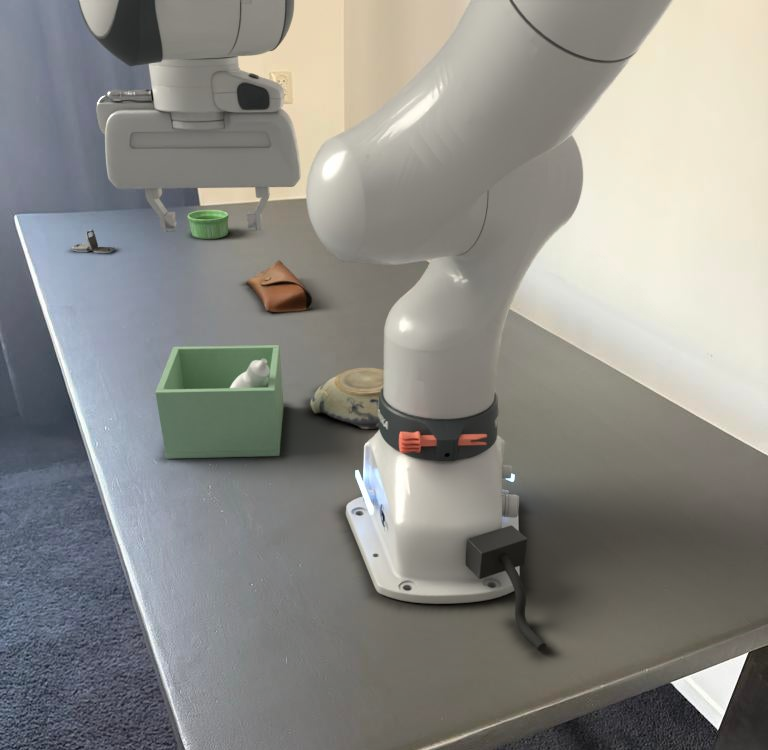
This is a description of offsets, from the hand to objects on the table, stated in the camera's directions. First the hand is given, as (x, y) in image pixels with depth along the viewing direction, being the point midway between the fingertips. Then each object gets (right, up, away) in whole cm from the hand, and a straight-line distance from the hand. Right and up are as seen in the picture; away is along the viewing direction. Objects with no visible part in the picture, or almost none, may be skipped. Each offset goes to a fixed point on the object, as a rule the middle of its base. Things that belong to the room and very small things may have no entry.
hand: (212, 229), depth 88 cm
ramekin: (-20, +31, +91) cm, 98 cm away
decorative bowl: (+17, -17, +21) cm, 31 cm away
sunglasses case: (0, +8, +57) cm, 58 cm away
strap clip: (-42, +24, +80) cm, 93 cm away
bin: (-1, -21, +14) cm, 25 cm away
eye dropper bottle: (0, -20, +13) cm, 23 cm away
